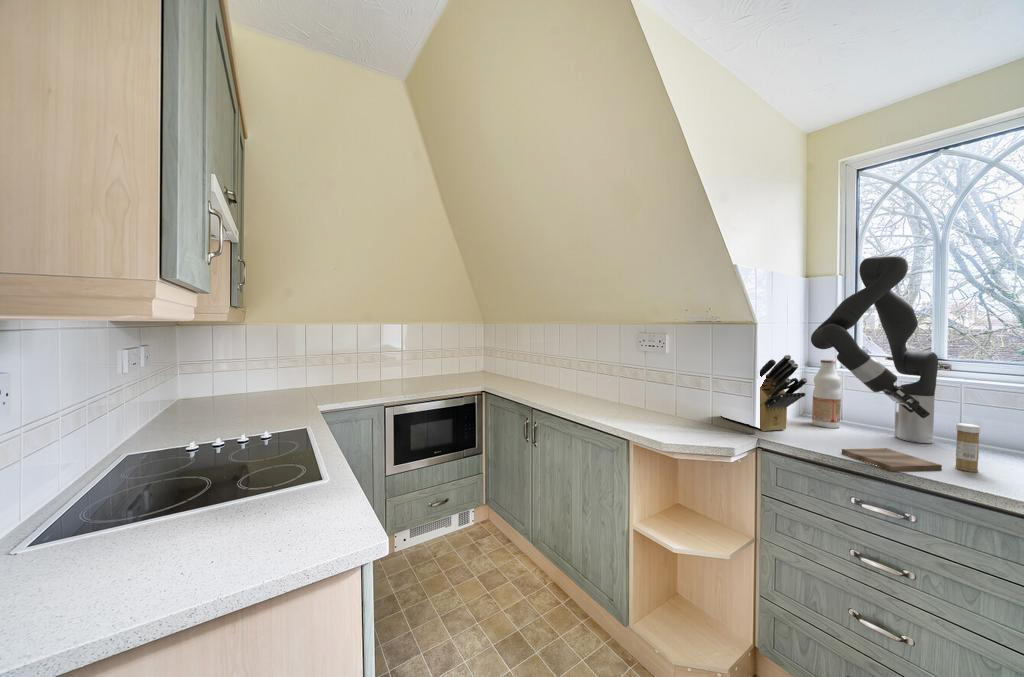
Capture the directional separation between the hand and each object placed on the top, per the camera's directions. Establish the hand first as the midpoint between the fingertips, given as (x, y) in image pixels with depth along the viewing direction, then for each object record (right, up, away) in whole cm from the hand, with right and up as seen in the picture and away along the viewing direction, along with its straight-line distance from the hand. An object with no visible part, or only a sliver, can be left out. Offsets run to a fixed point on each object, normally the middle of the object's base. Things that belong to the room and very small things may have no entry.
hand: (919, 413), depth 121 cm
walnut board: (-7, -15, +2) cm, 17 cm away
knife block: (-22, -14, +45) cm, 52 cm away
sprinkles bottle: (+9, -16, -4) cm, 19 cm away
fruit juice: (+8, -14, +47) cm, 50 cm away
